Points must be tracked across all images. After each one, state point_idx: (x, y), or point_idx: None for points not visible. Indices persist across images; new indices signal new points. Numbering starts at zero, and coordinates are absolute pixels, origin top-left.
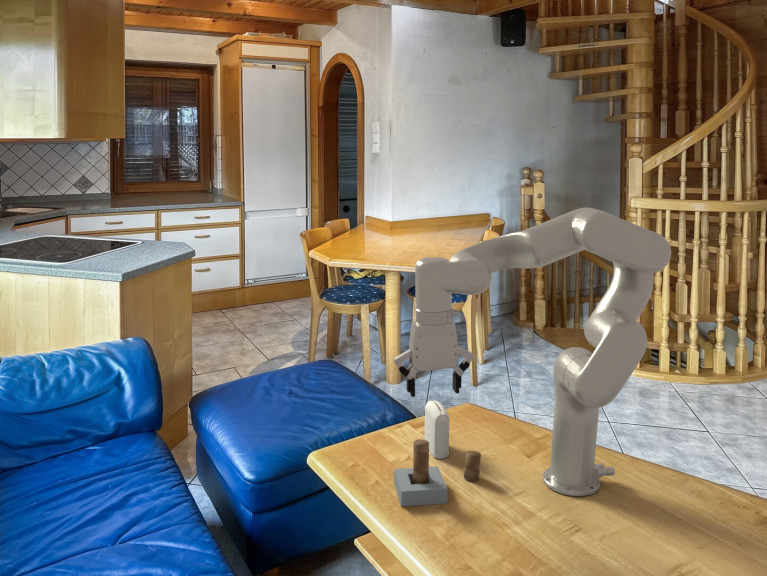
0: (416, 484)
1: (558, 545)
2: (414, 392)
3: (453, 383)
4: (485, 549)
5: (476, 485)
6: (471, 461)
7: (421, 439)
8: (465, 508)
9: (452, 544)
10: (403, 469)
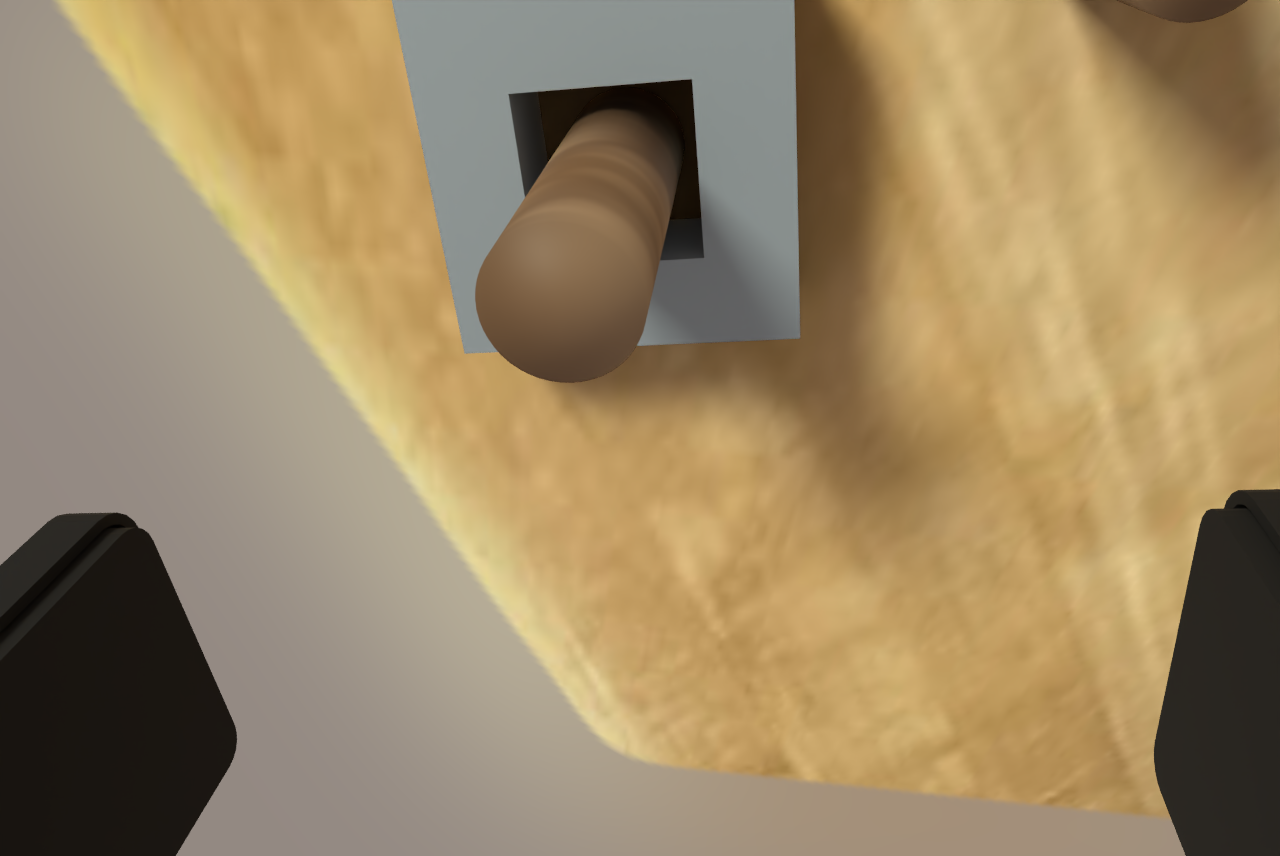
0: None
1: None
2: (181, 825)
3: (1264, 730)
4: (892, 684)
5: (1098, 49)
6: (1137, 7)
7: (566, 226)
8: (902, 355)
9: (742, 639)
10: (473, 8)
